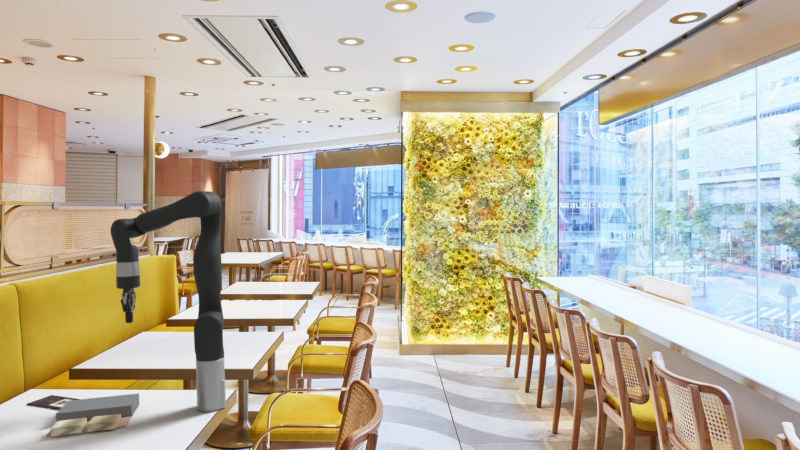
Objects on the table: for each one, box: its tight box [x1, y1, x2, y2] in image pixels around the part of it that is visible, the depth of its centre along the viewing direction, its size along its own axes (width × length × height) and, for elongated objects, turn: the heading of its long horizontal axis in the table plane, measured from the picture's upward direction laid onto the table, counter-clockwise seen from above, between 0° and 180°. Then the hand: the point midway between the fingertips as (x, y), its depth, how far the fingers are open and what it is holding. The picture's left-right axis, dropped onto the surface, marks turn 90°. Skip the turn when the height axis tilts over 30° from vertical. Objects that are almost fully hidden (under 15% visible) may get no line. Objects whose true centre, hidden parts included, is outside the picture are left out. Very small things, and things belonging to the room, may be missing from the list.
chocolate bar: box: [26, 394, 80, 411], centre depth 186 cm, size 9×1×18 cm
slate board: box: [55, 393, 140, 423], centre depth 174 cm, size 22×12×4 cm, turn 106°
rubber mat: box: [45, 416, 132, 438], centre depth 164 cm, size 22×8×1 cm, turn 106°
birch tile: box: [50, 418, 87, 438], centre depth 160 cm, size 8×6×2 cm
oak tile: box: [86, 414, 121, 433], centre depth 163 cm, size 8×6×2 cm
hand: (129, 322), depth 185 cm, fingers closed
